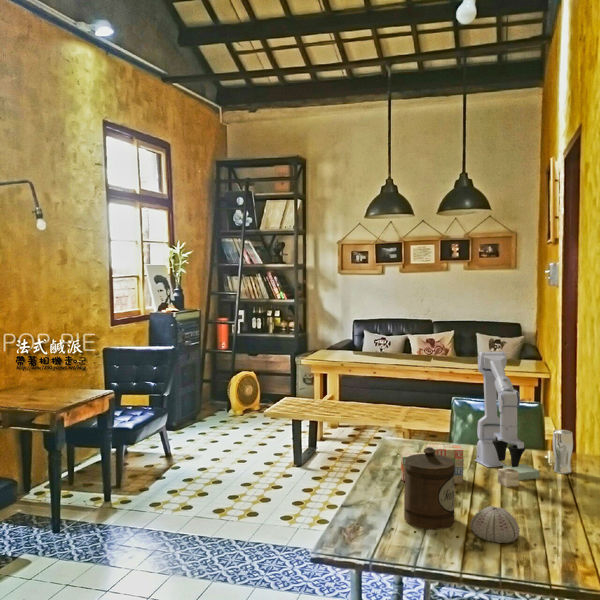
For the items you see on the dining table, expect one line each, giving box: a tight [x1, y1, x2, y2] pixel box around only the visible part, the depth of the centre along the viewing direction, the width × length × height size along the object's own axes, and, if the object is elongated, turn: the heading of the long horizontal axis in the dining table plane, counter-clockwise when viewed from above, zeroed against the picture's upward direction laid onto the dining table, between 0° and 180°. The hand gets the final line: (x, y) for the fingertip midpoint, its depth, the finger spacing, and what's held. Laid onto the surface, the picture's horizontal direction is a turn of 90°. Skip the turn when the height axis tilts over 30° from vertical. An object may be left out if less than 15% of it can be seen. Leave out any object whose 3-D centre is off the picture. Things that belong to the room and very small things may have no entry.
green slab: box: [502, 463, 540, 481], centre depth 226 cm, size 9×9×3 cm
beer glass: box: [552, 429, 574, 475], centre depth 230 cm, size 7×7×15 cm
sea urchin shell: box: [469, 505, 521, 544], centre depth 173 cm, size 13×14×8 cm
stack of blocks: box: [400, 444, 465, 484], centre depth 221 cm, size 21×6×12 cm, turn 86°
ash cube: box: [497, 467, 520, 488], centre depth 216 cm, size 5×5×5 cm
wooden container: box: [403, 447, 456, 530], centre depth 184 cm, size 15×15×22 cm
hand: (508, 463), depth 216 cm, fingers open, 7 cm apart
